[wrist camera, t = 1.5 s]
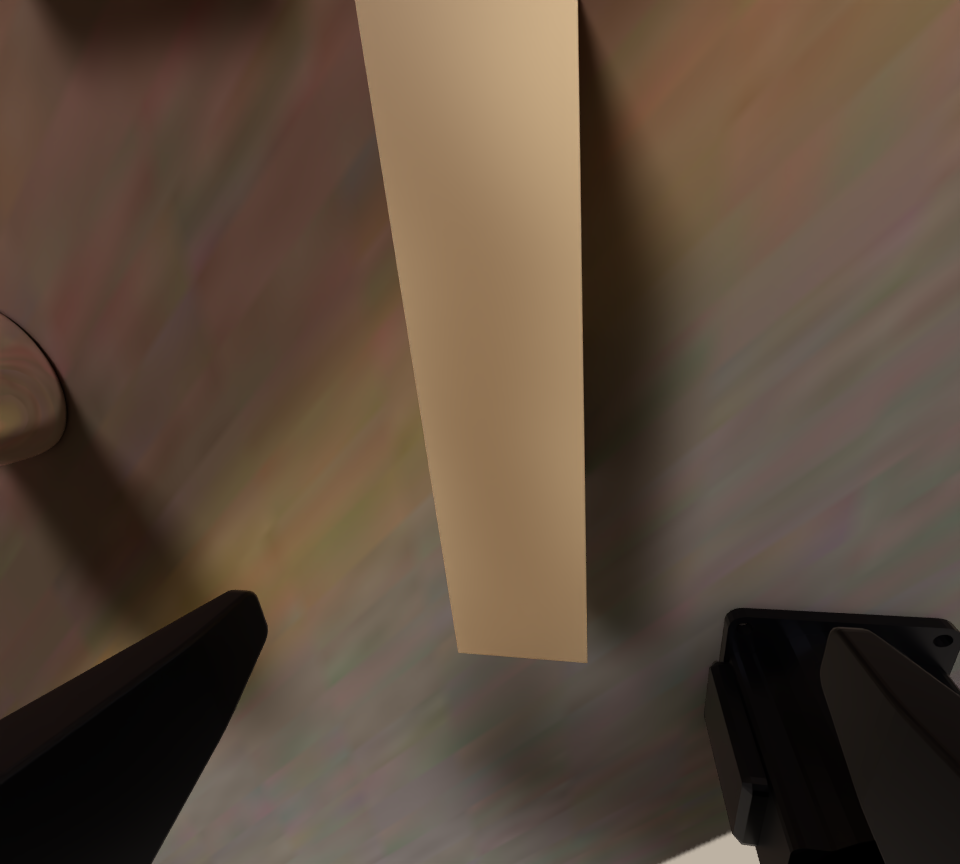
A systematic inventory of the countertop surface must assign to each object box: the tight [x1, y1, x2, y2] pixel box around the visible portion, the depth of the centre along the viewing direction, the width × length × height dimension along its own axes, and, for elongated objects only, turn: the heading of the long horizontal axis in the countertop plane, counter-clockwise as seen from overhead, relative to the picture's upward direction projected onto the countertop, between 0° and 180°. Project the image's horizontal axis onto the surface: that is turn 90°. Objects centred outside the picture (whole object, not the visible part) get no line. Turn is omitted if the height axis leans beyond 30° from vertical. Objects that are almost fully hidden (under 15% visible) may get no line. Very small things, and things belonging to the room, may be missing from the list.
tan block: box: [355, 0, 587, 663], centre depth 10 cm, size 2×12×7 cm, turn 5°
